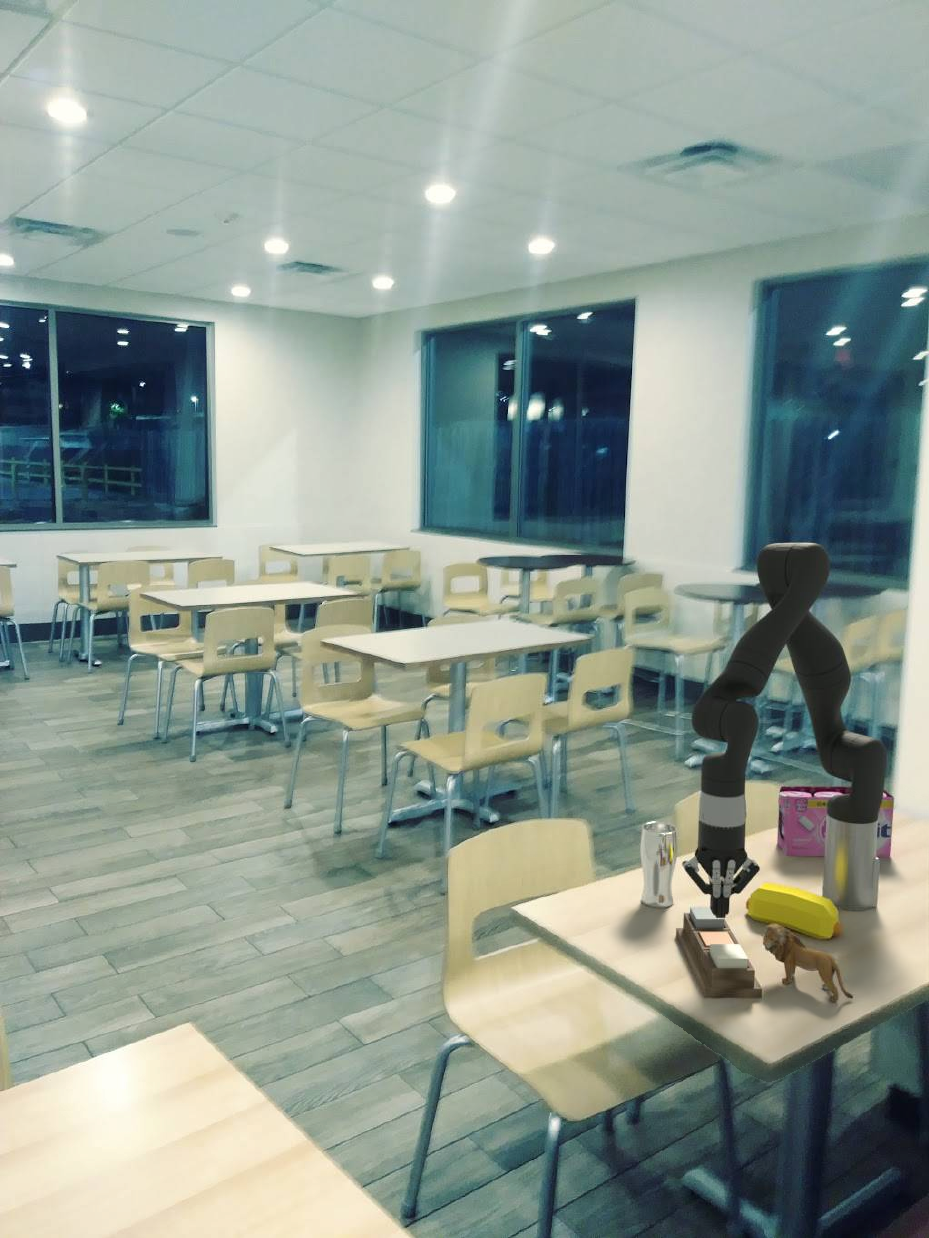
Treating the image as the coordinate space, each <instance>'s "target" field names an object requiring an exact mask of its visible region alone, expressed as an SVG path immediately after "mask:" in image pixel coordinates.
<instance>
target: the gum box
mask: <svg viewBox="0 0 929 1238" xmlns="http://www.w3.org/2000/svg"><path fill="white" fill-rule="evenodd" d="M850 791H851V786H847V785H846V786H843V785H842V786H836V785H835V786H834V785H833V786H832V785H831V786H820V785H819V786H815V785H814V786H813V785H812V786H809V785H807V786H806V785H800V786H799V785H789V786H786V785H783V786H780V789H779V794H778V801H777V802H778V817H777V818H778V819H777V837H776V838H777V839H776V840H777V841H776V842H777V845H778V846H779V847H780V849H781V850H782V851H783V852H784V854H786V856H787V857H791V856H792V857H795V856H796V857H824V853H825V834H826V815H827V802H828V800H829V799H830V798H831V797H833V796H836V795H841V794H850ZM894 804H895V797H894V796H893V795H892V794H891V793H889V792H888V791H887V790H885V789H884V791H883V800H882V804H881V807H880V810H879V814H878V826H877V844H876V857H878V858H879V857H881V858H882V857H883V858H885V857H887V858H888V857H889V858H890V857H891V851H892V849H891V848H892V838H893V837H892V834H893V823H894V821H893V819H894V809H895V808H894V807H895V805H894Z"/></svg>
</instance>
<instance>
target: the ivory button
mask: <svg viewBox="0 0 929 1238" xmlns="http://www.w3.org/2000/svg"><path fill="white" fill-rule="evenodd" d="M710 958H711V960H712V962H713V964H714V966H715V968H748V960H749V958H748V956H747V955H746V953H745V951H744V949H743V948H742V946H741V944H740V943H739V944H710Z"/></svg>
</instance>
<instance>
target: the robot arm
mask: <svg viewBox="0 0 929 1238" xmlns="http://www.w3.org/2000/svg"><path fill="white" fill-rule="evenodd" d="M756 571H757V572H756V573H757V577H758V582H759V584H760V587H761V588H760V589H762V592H763V594H764V596H765V599H766V601H767V603H768V605H769V607H770V610H769V612H767V613H766V614H765V615H764V616H763V617H762V618H760V619H759V620H757V622H755V624H753V625H752V626H751V627H750V628H749V629H747V631H745V633H743V635H742V636H741V637H740V638H739V640H738V642H737V643H736V645H735V646H734V649H733V651H732V653H731V654H730V657H729V659H728V661H727V664H726V666H725V667H724V669H723V671H722V672H721V673H720V674H719V675H718V676H717V677H716V679H714V681H713V682H712V683H711V684H710V685H709V686H708V688H706V690H705V691H704V692H703V693H702V694H701V695H700V697H699V698H698V700H697V701H696V703H695V704H694V706H693V709H692V713H691V726H692V729H693V731H694V732H695V734H696V735H698V736H699V737H700V738H704V739H708V740H712V741H717V742H720V743H721V742H722V743H725V744H727V746H726V749H725V751H724V752H712V753H710V754H707V755H705V756H704V757H703V759H702V761H701V767H700V768H701V769H700V770H701V771H700V772H701V774H700V775H701V776H700V777H701V778H700V783H701V784H700V795H699V802H698V825H697V826H698V830H697V831H698V833H697V835H698V836H697V847H696V849H695V852H694V856H693V857H692V858H691V859H690V860H684V861H682V863H681V865H682V867H683V869H684V871H685V872H686V873H687V875H688V876H689V878H691V880H692V882H694V884H695V885H696V886H697V888H698V889H700V891H701V892H702V893H703V894H704V895H709V896H710V897H709V898H710V900H709V901H710V903H709V907H710V909H711V911H712V913H713V915H715V917H716V918H724V919H726V915H727V916H728V915H729V913H730V898H731V896H732V895H735V894H736V895H737V894H738V895H739V894H741V893H742V892H743V891H744V889H745V888H746V887H747V886H748V885H749V884H750V882H751V881H752V880H753V879H754V877H755V876H756V875H757V874H758V873H759V872H760V870H761V867H760V866H759V864H758V863H757V862H756V860H755V859H751V858H749V857H748V853H747V851H746V826H747V825H746V823H747V821H746V819H747V804H746V803H747V801H746V771H747V765H748V761H749V758H750V755H751V751H752V748H753V745H754V742H755V740H756V736H757V734H758V731H759V725H760V724H759V723H760V722H759V721H760V720H759V716H758V713H757V711H756V709H755V707H754V706H753V705H751V704H750V703H749V702H746V701H742V700H741V699H748V698H749V699H750V698H754V697H758V696H760V695H761V694H762V693H763V691H764V689H765V687H766V685H767V682H768V681H769V678H770V676H771V674H772V672H773V671H774V667H775V665H776V664H777V661H778V659H779V657H780V654H781V653H782V651H783V649H784V648H785V646H786V647H787V651H788V654H789V657H790V660H791V665H792V667H793V670H794V673H795V677H796V679H797V682H798V685H799V687H800V690H801V693H802V695H803V698H804V701H805V705H806V708H807V711H808V715H809V718H810V721H811V727H812V730H813V735H814V739H815V745H816V749H817V755H818V759H819V762H820V764H821V766H822V769H823V770H824V771H825V772H826V773H827V774H828V775H829V776H831V777H833V778H837V779H839V780H843V781H846V782H849V783H851V791H850V794H841V795H836V796H833V797H831V798H830V799H829V800H828V802H827V815H826V834H825V853H824V856H823V857H824V858H823V870H822V871H823V877H822V886H821V887H822V888H821V889H822V892H821V893H822V895H821V897H824V898H827V899H830V900H831V901H832V903H833V904H834V905H835V907H836V908H837V909H842V910H846V911H864V910H865V911H866V910H868V909H870V908H873V907H874V908H877V907H878V899H879V881H880V869H881V868H880V867H881V866H880V865H881V861H880V858H879V857H876V844H877V826H878V814H879V810H880V807H881V804H882V800H883V791H884V790H885V782H886V773H887V767H888V766H887V762H888V754H887V748H886V746H885V744H884V743H883V742H882V741H881V740H880V739H878V738H875V737H872V736H868V735H864V734H860V733H856V732H851V731H849V730H848V728H847V727H846V724H845V721H844V720H843V716H842V711H841V710H842V705H843V703H844V701H845V699H846V697H847V694H848V693H849V690H850V687H851V683H852V682H851V681H852V675H851V671H850V666H849V663H848V660H847V656H846V654H845V651H844V648H843V646H842V643H841V642H840V641H839V639H838V638H837V637H836V636H835V634H834V633H832V631H831V630H829V628H828V627H826V625H824V624H823V622H821V621H820V620H819V619H818V618H817V617H816V616H815V615H814V614H813V613H812V612H811V611H810V610H811V609H812V607H813V606H814V604H815V602H816V601H817V600H818V598H819V597H820V595H821V594H822V592H823V591H824V588H825V587H826V585H827V583H828V580H829V577H830V572H831V561H830V556H829V554H828V552H827V550H826V549H825V547H823V546H822V545H821V544H819V543H815V542H814V543H813V542H778V543H770V544H768V545H765V546H764V547H762V549H761V550H760V551H759V553H758V556H757V559H756ZM699 865H700V866H701V868H702V869H703V870H704V872H705V873H706V874H707V876H708V883H707V882H705V880H704V879H703V877H702V876H701V875H700V874H699V873H698V872H699V871H700V867H699ZM740 869H741V870H740ZM738 871H739V872H738ZM737 873H738V874H737ZM736 874H737V875H736ZM735 875H736V876H735Z"/></svg>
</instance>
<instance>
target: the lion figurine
mask: <svg viewBox="0 0 929 1238" xmlns="http://www.w3.org/2000/svg"><path fill="white" fill-rule="evenodd" d="M762 945H763V946H764V950H766V951H767V952H769V953H770V954H771V955H773V956H774V957H775V960H776V961H778V962H780V963H782V964H783V966H784V972H785V978H782V979H781V982H782V983H783V984H784V985H790V984H791V983H792V981H793V977H794V976H795V975H796V969H797V967H798V968H800V969H802V970H805V971H809V972H815V971H817V972H818V974H819V977H820V979H821V981H822V982H823V983H822V986H821V988H822V989H823V990H830V992H831V993H832V995H830V996H828V999H829V1001H830V1002H831V1003H836V1002H838V1001H839V997H840V996H839V990H838V987H837V986H836V984H835V983H834V979H833V977H834V975H835V974H836V978H837V981H838V985H839V987H840V989H841V991H842V993H843V995H844V996H845V997H846V998H848V999H854V995H852V994H851V993H850V992H848V991H847V990H846V989H845V988H844V985H843V979H842V975H841V971H840V968H839V966H838V964H837V961H836V959H835V957H834V956H833V955H832V954H830V953H828V952H827V951H822V950H817V949H813V948H810V947H808V946H806V945H804V943H803V942H802V940H801V939H800V938H799V937H798V936H797V935H796V934H795V933H793V932H791V929H789V928H787V927H783V926H782V925H781V926H780V925H778V924H767V925H765V927H764V934H763V939H762Z"/></svg>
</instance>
